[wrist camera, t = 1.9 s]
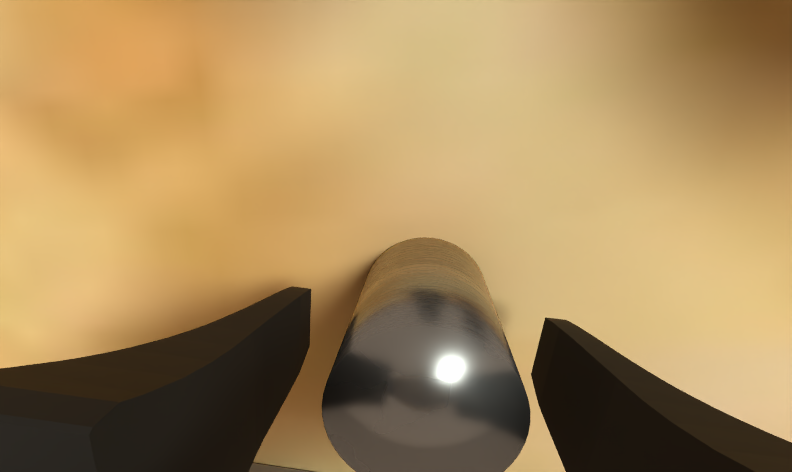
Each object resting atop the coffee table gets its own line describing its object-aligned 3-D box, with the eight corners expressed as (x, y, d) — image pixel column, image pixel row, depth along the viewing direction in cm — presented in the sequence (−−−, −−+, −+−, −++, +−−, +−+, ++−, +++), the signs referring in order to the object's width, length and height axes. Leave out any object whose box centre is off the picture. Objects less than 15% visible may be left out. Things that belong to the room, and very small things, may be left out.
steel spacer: (495, 245, 13) (551, 343, 7) (475, 354, 14) (508, 509, 8) (369, 230, 13) (326, 314, 7) (361, 339, 14) (318, 481, 9)
